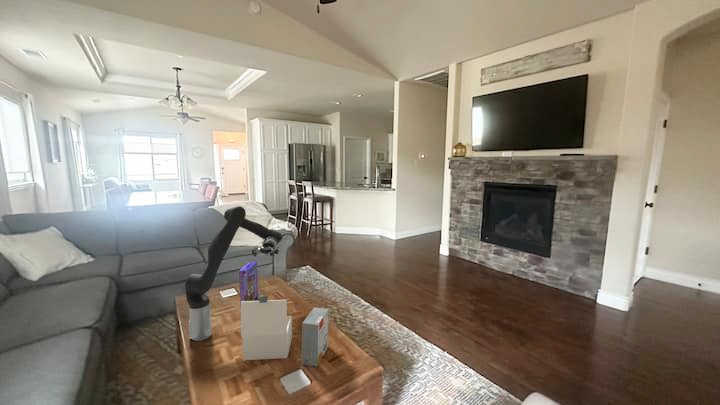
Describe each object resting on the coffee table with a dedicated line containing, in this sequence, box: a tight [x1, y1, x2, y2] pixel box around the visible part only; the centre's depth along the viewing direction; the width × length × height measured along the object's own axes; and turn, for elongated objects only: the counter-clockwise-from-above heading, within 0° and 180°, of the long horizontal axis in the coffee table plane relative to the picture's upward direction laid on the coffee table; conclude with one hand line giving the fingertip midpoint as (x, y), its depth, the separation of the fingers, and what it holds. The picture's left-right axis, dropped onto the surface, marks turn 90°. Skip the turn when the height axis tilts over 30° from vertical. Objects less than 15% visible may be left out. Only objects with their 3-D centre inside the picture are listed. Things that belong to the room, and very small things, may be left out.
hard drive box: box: [301, 307, 329, 368], centre depth 135 cm, size 16×8×20 cm, turn 168°
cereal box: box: [238, 260, 259, 308], centre depth 187 cm, size 17×5×24 cm, turn 179°
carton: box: [241, 315, 293, 361], centre depth 140 cm, size 20×16×12 cm
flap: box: [240, 294, 288, 338], centre depth 129 cm, size 20×19×4 cm
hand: (262, 254), depth 157 cm, fingers open, 8 cm apart
